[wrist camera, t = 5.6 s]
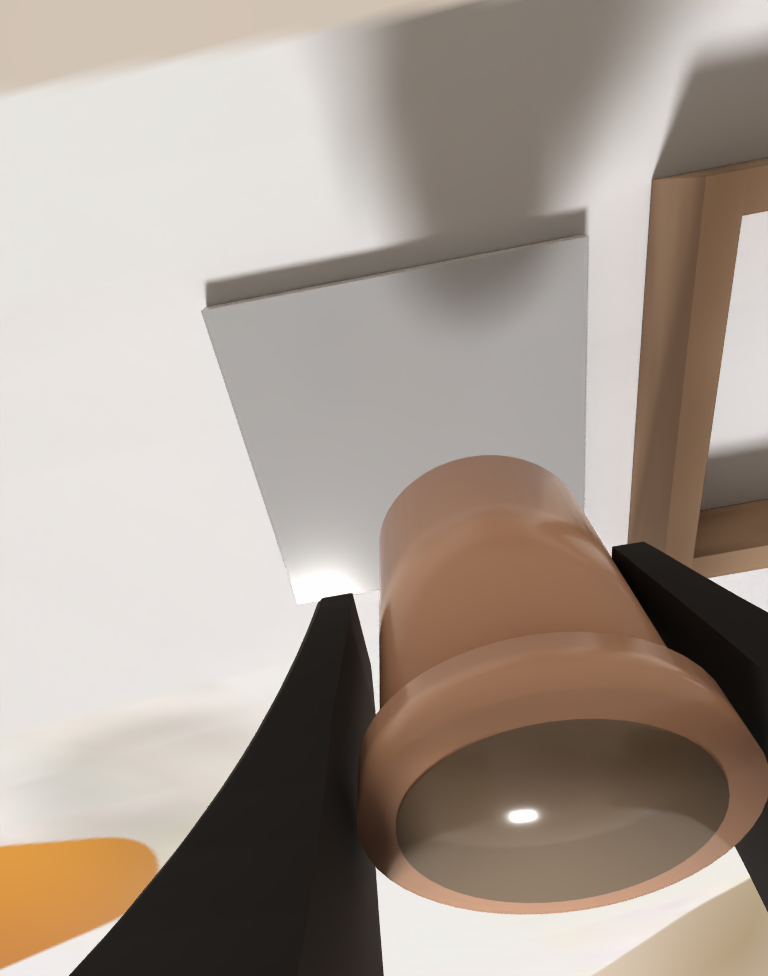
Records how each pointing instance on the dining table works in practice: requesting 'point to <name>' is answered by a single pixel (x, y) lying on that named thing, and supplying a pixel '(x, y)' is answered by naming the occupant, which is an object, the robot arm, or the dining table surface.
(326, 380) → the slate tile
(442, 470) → the terracotta pot
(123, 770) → the dining table surface
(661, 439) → the cold frame
